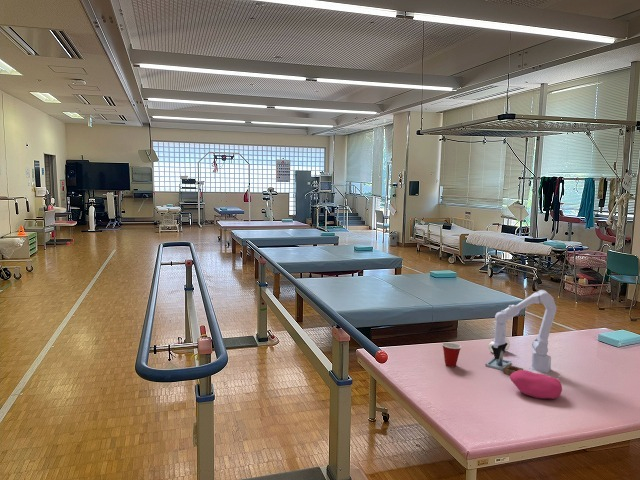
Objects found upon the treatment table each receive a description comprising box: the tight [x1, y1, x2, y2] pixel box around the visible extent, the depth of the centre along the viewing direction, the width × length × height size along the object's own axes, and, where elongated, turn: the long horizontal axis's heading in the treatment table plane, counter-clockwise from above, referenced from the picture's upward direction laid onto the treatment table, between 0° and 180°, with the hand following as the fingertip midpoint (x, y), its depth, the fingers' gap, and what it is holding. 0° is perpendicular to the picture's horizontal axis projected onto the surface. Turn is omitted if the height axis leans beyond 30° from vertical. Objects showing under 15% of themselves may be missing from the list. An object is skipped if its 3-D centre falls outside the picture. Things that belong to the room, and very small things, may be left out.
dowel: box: [496, 350, 504, 366], centre depth 263 cm, size 3×3×8 cm
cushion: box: [509, 369, 563, 400], centre depth 227 cm, size 23×19×10 cm
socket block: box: [502, 364, 524, 376], centre depth 252 cm, size 8×8×3 cm
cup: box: [487, 337, 511, 354], centre depth 286 cm, size 10×10×11 cm
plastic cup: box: [441, 342, 462, 368], centre depth 263 cm, size 11×11×12 cm
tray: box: [485, 357, 512, 371], centre depth 263 cm, size 10×14×2 cm
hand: (498, 356), depth 263 cm, fingers open, 7 cm apart
